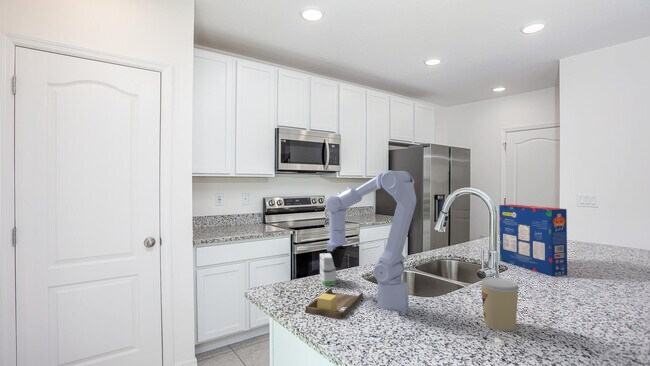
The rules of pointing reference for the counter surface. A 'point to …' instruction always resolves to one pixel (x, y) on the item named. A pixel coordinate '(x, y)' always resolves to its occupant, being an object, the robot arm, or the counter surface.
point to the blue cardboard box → (534, 238)
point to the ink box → (327, 269)
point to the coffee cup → (500, 303)
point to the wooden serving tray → (342, 301)
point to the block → (327, 302)
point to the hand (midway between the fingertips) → (337, 267)
